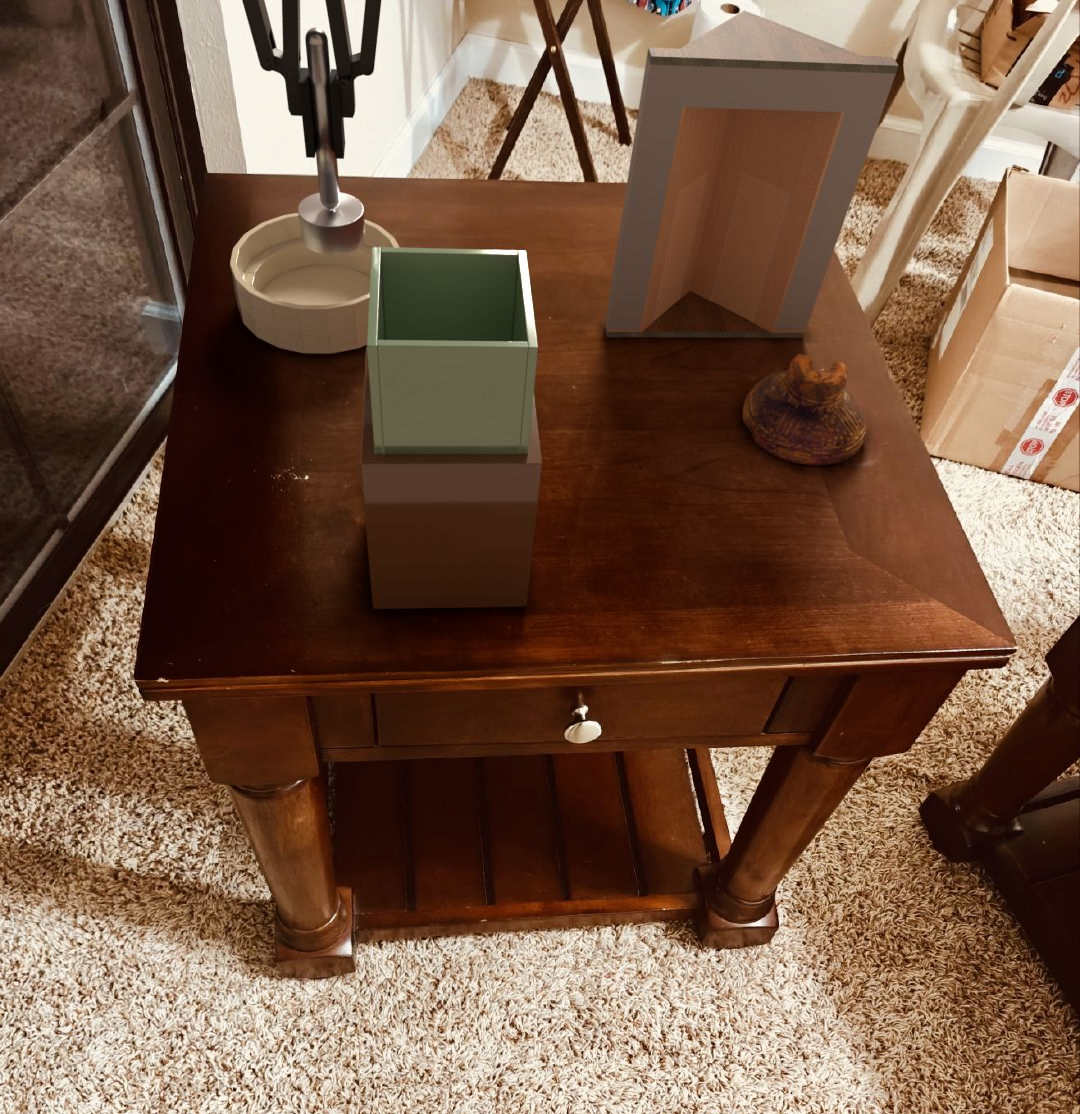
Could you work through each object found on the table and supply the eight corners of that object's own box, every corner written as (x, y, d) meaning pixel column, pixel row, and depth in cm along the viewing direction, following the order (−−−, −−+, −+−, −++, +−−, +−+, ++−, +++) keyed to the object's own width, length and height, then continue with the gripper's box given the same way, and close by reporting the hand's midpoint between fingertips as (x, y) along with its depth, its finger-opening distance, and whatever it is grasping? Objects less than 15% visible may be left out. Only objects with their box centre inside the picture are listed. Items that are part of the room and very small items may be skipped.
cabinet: (606, 336, 101) (651, 56, 79) (594, 280, 107) (633, 5, 86) (803, 337, 104) (898, 65, 82) (780, 282, 110) (863, 15, 88)
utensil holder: (372, 609, 77) (350, 355, 58) (376, 496, 85) (358, 238, 65) (526, 606, 78) (554, 357, 59) (516, 495, 86) (538, 242, 67)
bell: (718, 429, 93) (736, 369, 88) (778, 368, 100) (798, 308, 94) (828, 489, 90) (854, 429, 84) (883, 421, 96) (911, 362, 90)
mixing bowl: (231, 359, 94) (220, 307, 90) (249, 260, 105) (240, 208, 100) (403, 361, 96) (401, 310, 92) (404, 263, 106) (402, 213, 102)
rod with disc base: (298, 254, 92) (273, 42, 77) (303, 218, 96) (280, 10, 81) (364, 256, 92) (351, 46, 78) (366, 220, 96) (354, 14, 82)
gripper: (405, -179, 73) (410, 132, 91) (196, -195, 71) (244, 125, 89) (404, -146, 68) (410, 175, 86) (180, -163, 66) (234, 169, 84)
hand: (325, 149), depth 87 cm, fingers closed on rod with disc base, 2 cm apart
